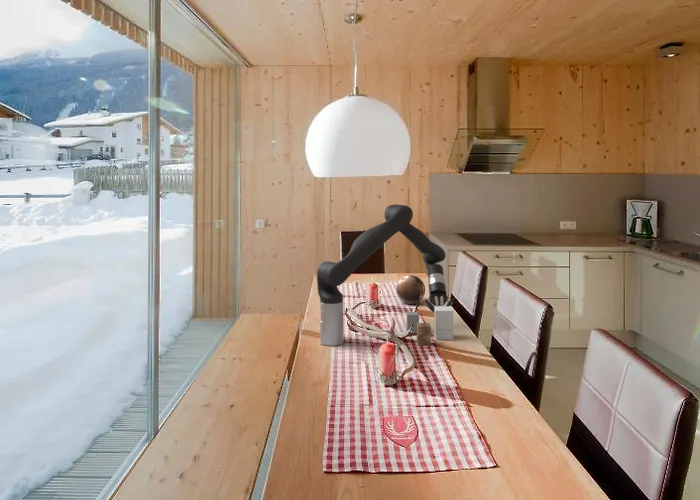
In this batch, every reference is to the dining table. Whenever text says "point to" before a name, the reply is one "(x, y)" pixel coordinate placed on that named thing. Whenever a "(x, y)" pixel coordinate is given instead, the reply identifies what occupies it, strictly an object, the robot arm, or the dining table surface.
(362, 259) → the robot arm
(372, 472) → the dining table surface
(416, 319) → the grey block
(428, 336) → the walnut block
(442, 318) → the supplement box
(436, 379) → the dining table surface
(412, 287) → the wooden sphere
